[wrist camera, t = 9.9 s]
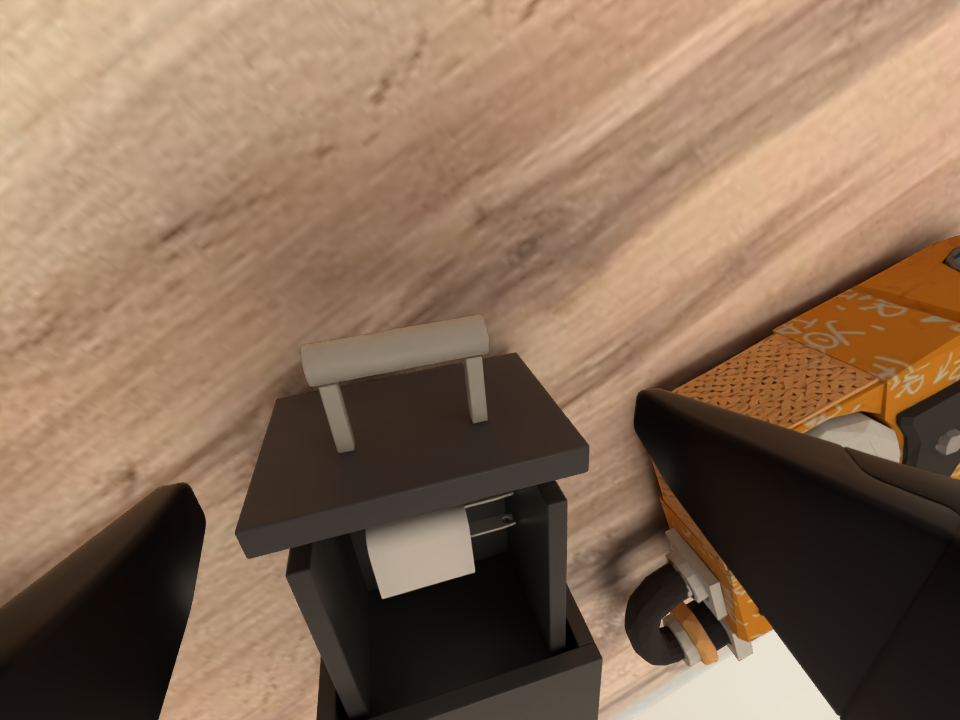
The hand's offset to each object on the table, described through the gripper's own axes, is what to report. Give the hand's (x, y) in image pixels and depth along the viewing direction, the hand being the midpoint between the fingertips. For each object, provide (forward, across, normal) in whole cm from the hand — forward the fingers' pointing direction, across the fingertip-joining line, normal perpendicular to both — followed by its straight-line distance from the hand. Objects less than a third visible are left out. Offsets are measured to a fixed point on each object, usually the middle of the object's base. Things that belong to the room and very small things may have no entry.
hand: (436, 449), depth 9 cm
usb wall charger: (+10, 0, +11) cm, 15 cm away
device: (+13, -24, +16) cm, 31 cm away
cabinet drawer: (+11, 0, +9) cm, 14 cm away
